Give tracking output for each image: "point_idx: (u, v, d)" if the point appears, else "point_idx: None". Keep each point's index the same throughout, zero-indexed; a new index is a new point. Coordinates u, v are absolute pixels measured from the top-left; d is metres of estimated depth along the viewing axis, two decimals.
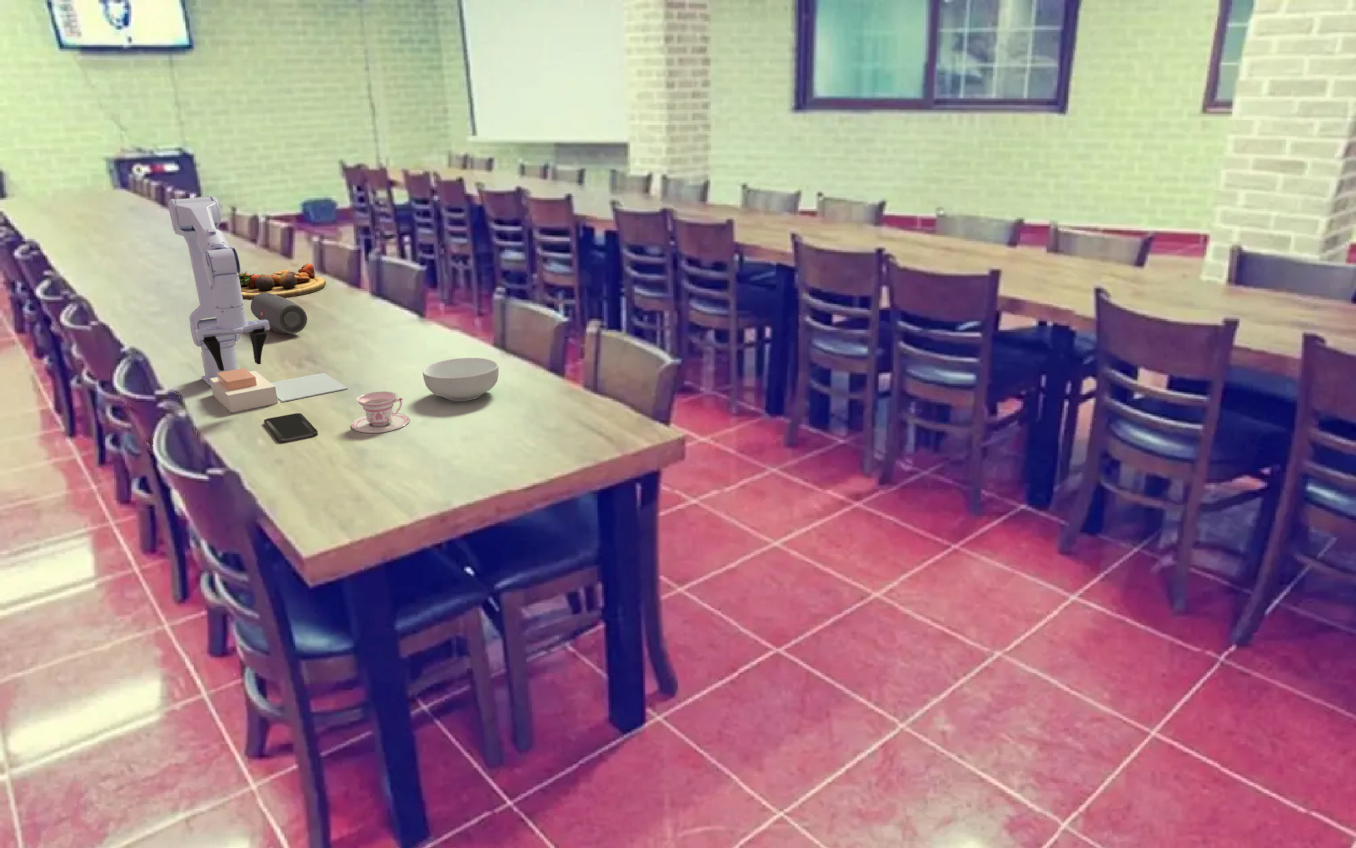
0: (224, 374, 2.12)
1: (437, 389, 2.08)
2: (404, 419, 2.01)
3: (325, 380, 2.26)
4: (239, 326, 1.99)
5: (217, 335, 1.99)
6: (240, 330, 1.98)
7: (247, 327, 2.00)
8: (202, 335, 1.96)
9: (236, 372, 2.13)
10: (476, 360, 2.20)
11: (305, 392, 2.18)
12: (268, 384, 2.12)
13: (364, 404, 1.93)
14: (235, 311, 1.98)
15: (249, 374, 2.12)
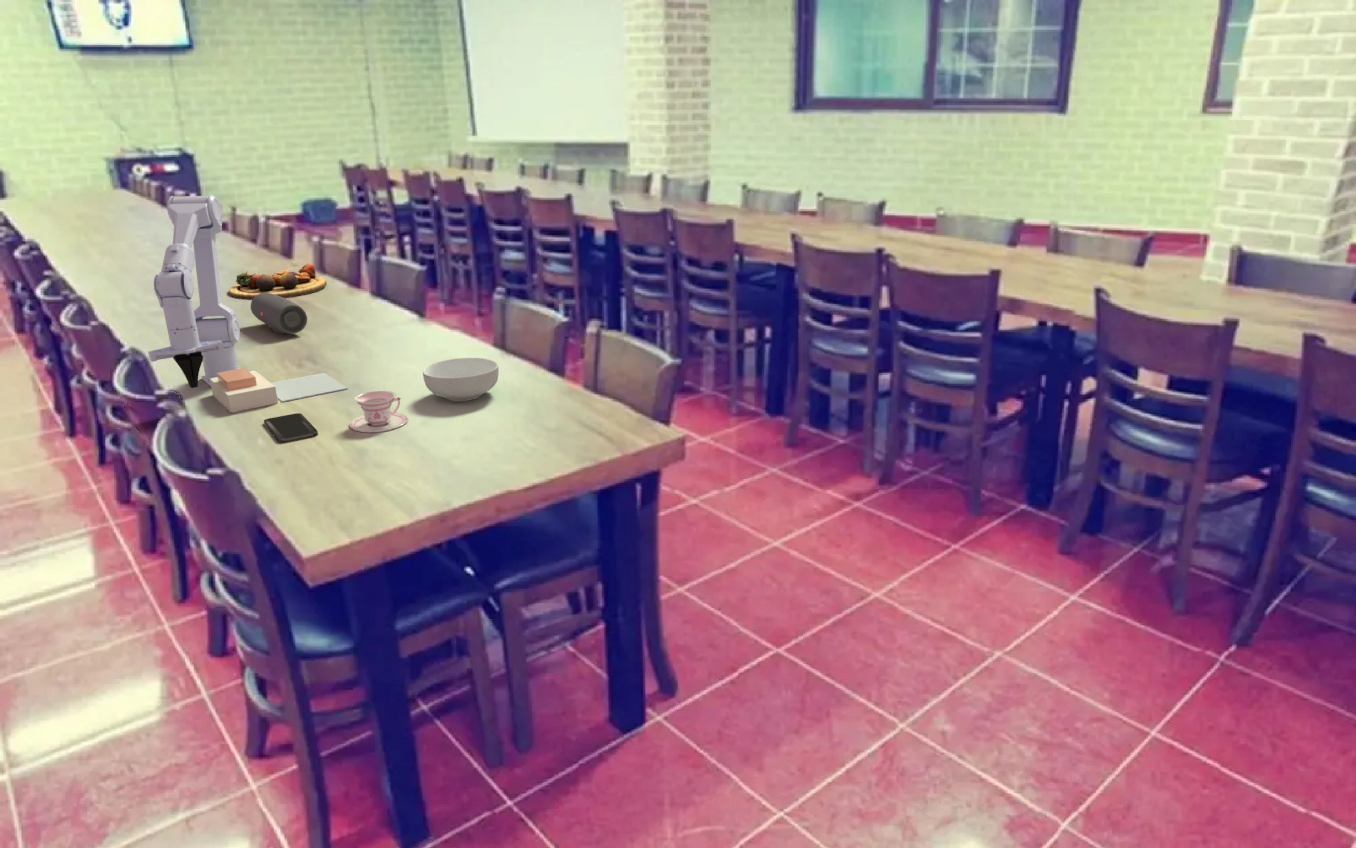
0: (224, 374, 2.12)
1: (437, 389, 2.08)
2: (402, 418, 2.01)
3: (325, 380, 2.26)
4: (192, 347, 2.02)
5: (170, 356, 2.02)
6: (192, 351, 2.01)
7: (200, 348, 2.03)
8: (155, 356, 1.99)
9: (236, 372, 2.13)
10: (476, 360, 2.20)
11: (305, 392, 2.18)
12: (268, 384, 2.12)
13: (362, 403, 1.93)
14: (187, 332, 2.00)
15: (249, 374, 2.12)
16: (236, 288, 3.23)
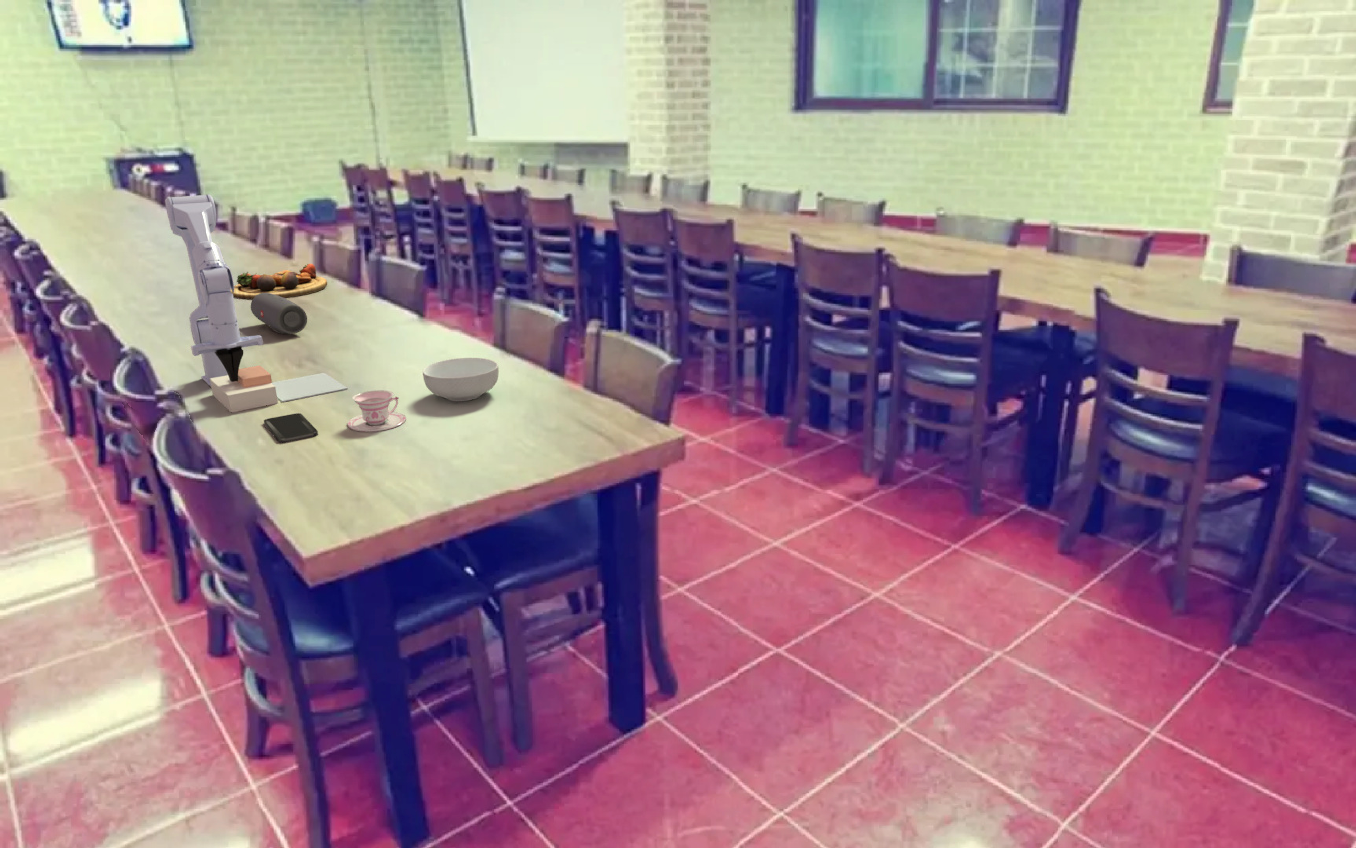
0: (240, 371, 2.14)
1: (437, 389, 2.08)
2: (400, 417, 2.01)
3: (325, 380, 2.26)
4: (233, 342, 2.07)
5: (212, 350, 2.07)
6: (234, 346, 2.06)
7: (240, 343, 2.08)
8: (197, 351, 2.04)
9: (252, 369, 2.15)
10: (476, 360, 2.20)
11: (305, 392, 2.18)
12: (268, 384, 2.12)
13: (360, 403, 1.94)
14: (229, 327, 2.05)
15: (264, 371, 2.14)
16: (237, 288, 3.22)
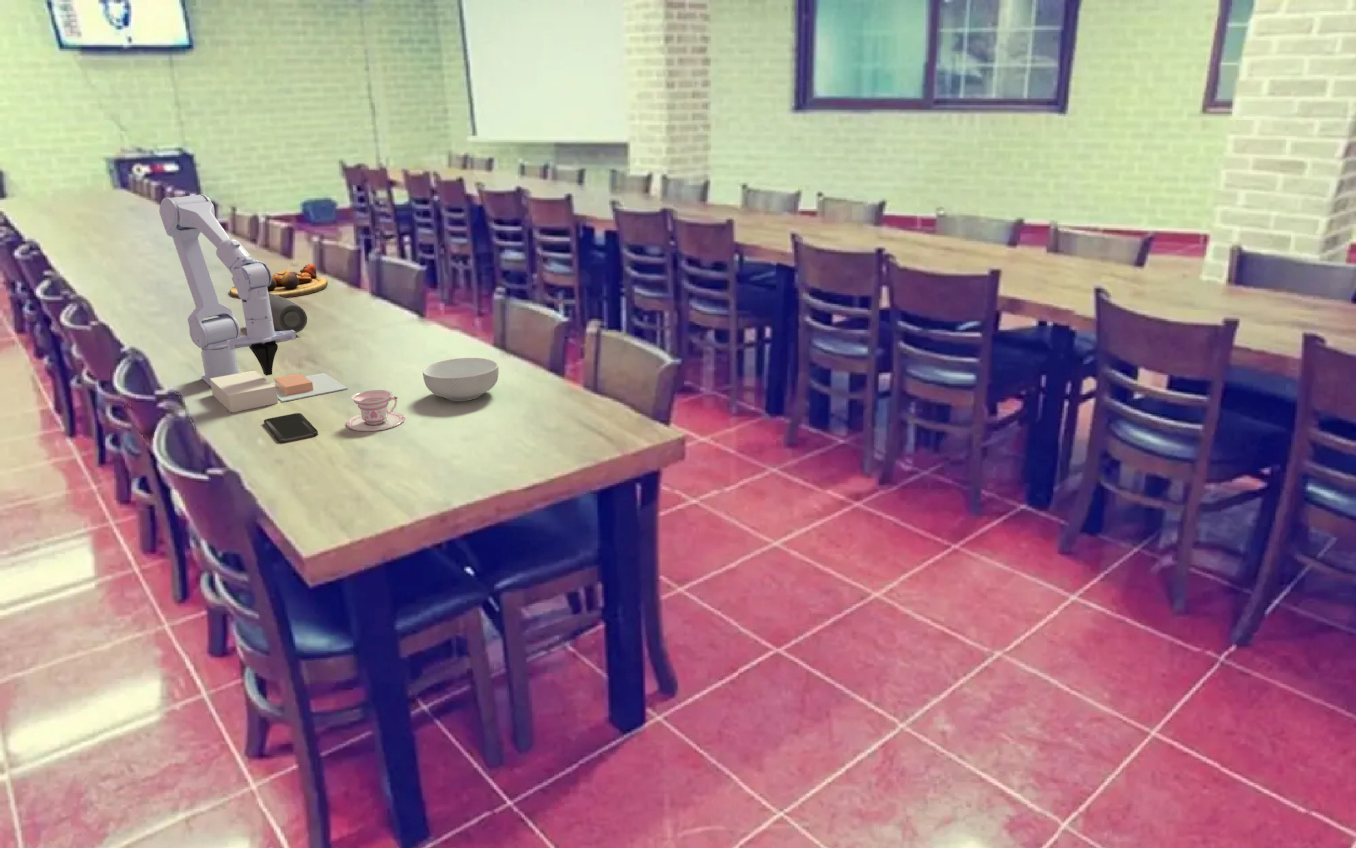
0: None
1: (437, 389, 2.08)
2: (399, 417, 2.02)
3: (325, 380, 2.26)
4: (268, 336, 2.11)
5: (247, 345, 2.11)
6: (269, 340, 2.10)
7: (275, 337, 2.12)
8: (233, 345, 2.09)
9: None
10: (476, 360, 2.20)
11: (305, 392, 2.18)
12: (268, 384, 2.12)
13: (359, 402, 1.94)
14: (264, 322, 2.10)
15: None
16: None
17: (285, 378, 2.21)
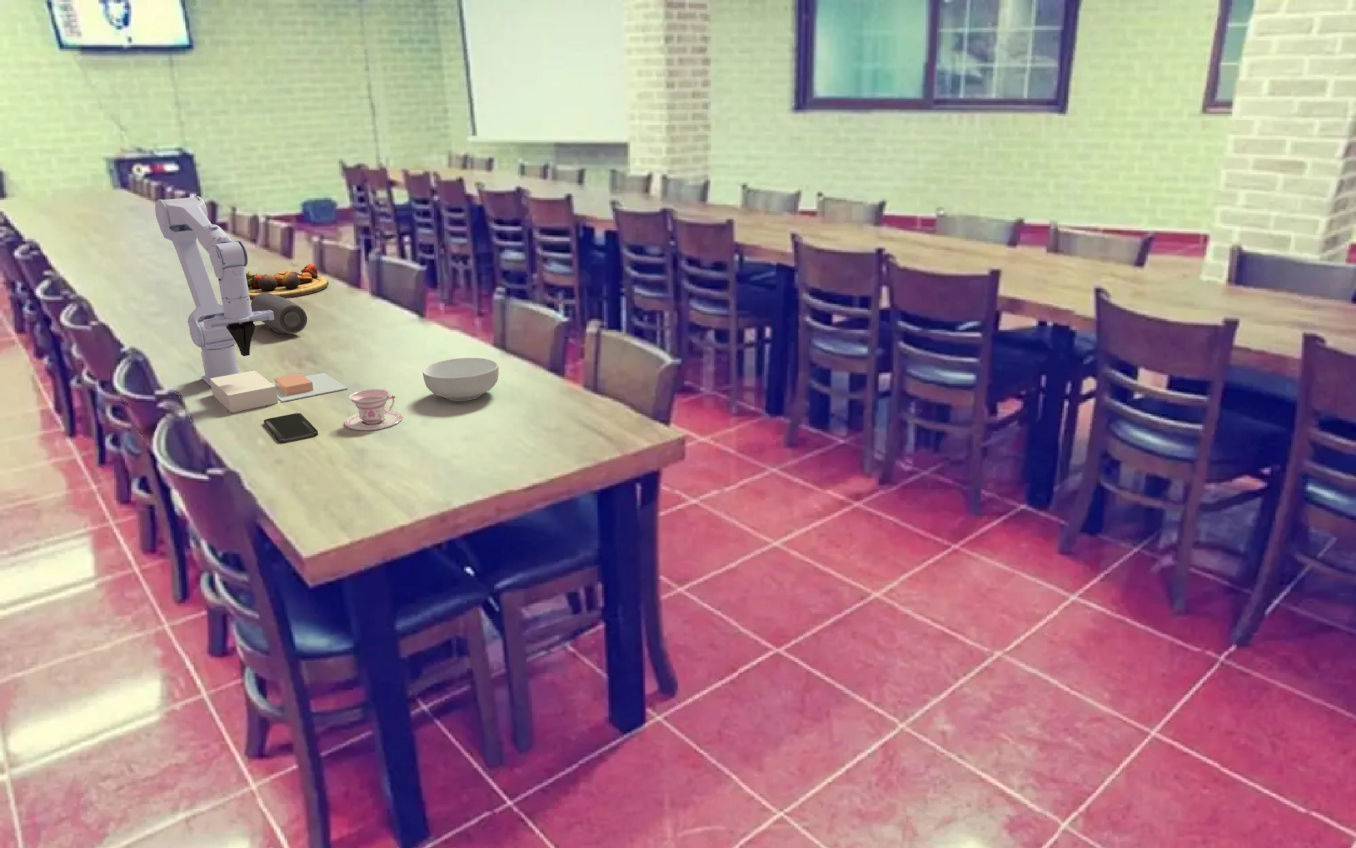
0: None
1: (437, 389, 2.08)
2: (396, 416, 2.02)
3: (325, 380, 2.26)
4: (245, 316, 2.09)
5: (224, 325, 2.09)
6: (246, 320, 2.08)
7: (252, 317, 2.10)
8: (210, 324, 2.06)
9: None
10: (476, 360, 2.20)
11: (305, 392, 2.18)
12: (268, 384, 2.12)
13: (357, 402, 1.94)
14: (241, 302, 2.07)
15: None
16: None
17: (285, 378, 2.21)
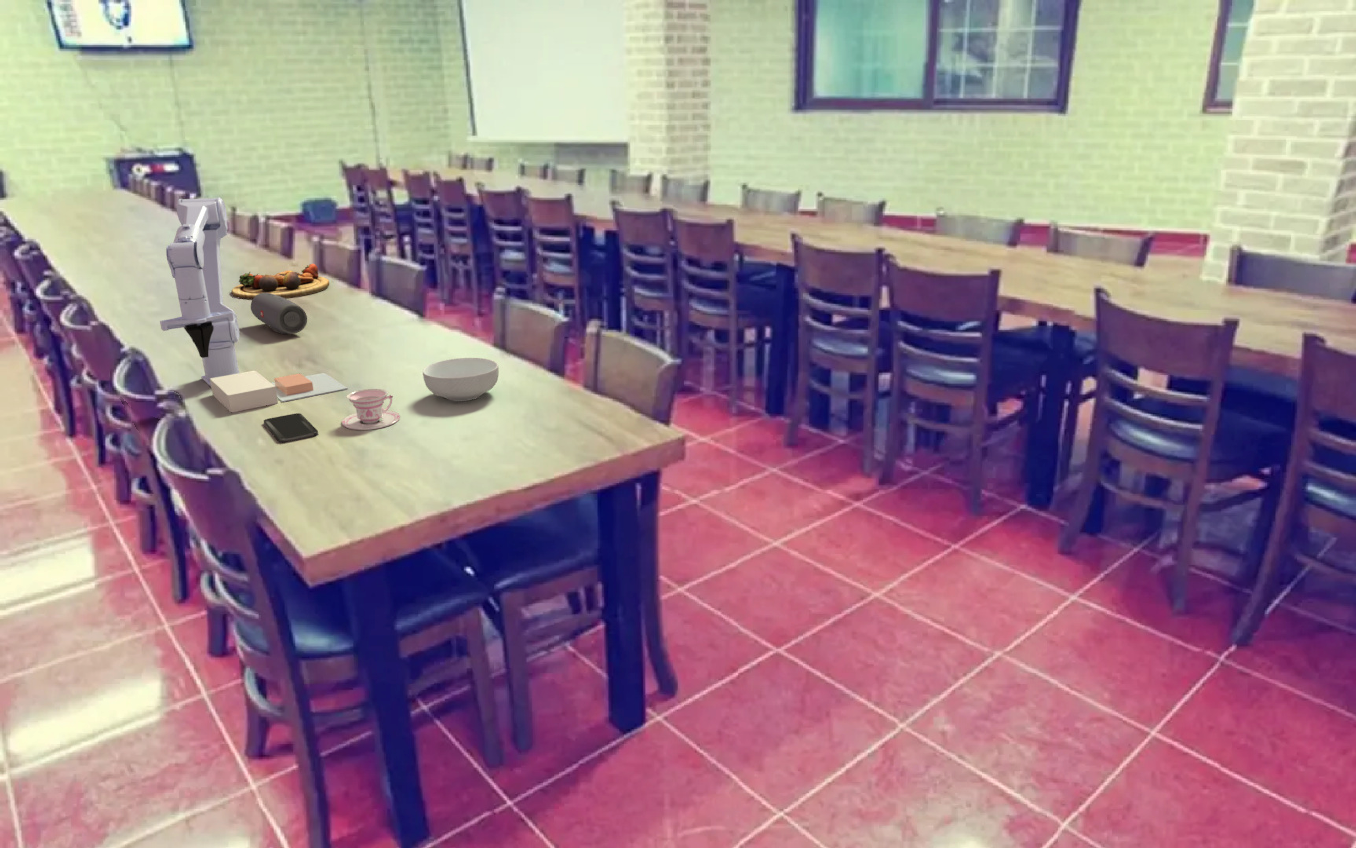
0: None
1: (437, 389, 2.08)
2: (394, 416, 2.02)
3: (325, 380, 2.26)
4: (202, 317, 2.05)
5: (181, 326, 2.05)
6: (203, 321, 2.04)
7: (210, 318, 2.07)
8: (166, 325, 2.03)
9: None
10: (476, 360, 2.20)
11: (305, 392, 2.18)
12: (268, 384, 2.12)
13: (354, 401, 1.95)
14: (198, 302, 2.04)
15: None
16: (239, 288, 3.22)
17: (285, 378, 2.21)
